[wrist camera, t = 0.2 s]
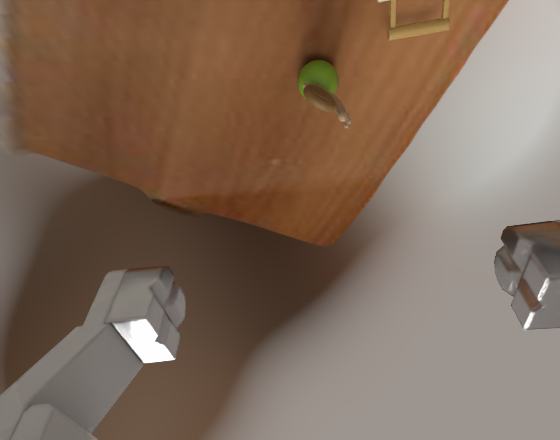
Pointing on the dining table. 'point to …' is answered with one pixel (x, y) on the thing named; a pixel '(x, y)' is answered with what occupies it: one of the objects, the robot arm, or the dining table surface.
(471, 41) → the dining table surface
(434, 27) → the drawer
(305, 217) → the dining table surface
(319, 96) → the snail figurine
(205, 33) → the dining table surface
